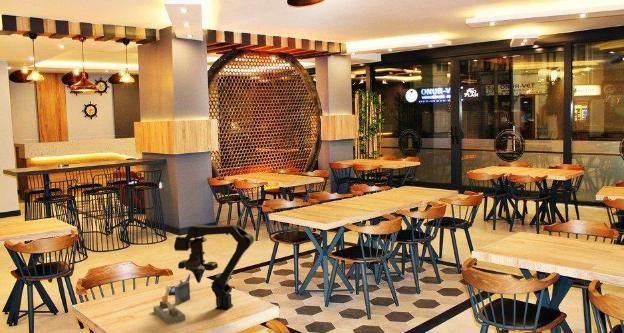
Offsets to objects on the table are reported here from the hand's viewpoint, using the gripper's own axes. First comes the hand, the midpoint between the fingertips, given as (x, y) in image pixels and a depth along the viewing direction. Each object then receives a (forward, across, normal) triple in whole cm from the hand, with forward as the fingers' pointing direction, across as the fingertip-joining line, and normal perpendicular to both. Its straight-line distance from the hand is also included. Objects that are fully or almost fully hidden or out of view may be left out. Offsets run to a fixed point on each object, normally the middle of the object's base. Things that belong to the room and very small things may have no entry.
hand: (198, 282), depth 266 cm
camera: (+12, -23, +19) cm, 33 cm away
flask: (+12, -13, +5) cm, 19 cm away
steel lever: (+8, -13, -10) cm, 19 cm away
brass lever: (+8, -3, -18) cm, 20 cm away
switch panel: (+12, -8, -14) cm, 20 cm away
